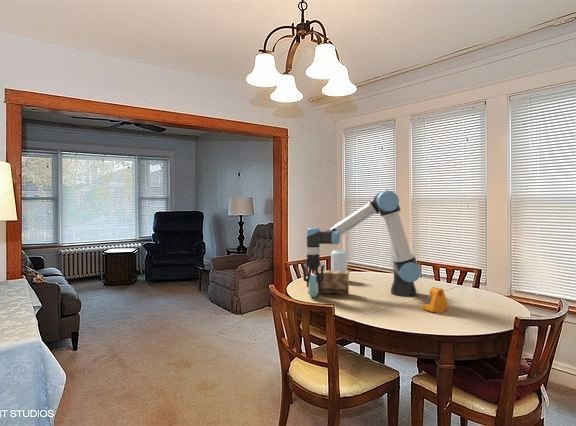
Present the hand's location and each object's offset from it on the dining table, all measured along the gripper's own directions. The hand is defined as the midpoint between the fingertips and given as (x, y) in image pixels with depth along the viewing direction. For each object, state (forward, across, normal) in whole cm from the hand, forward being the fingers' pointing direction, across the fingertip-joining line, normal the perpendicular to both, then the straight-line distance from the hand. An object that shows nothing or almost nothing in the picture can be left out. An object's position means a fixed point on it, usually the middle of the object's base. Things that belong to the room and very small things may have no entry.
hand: (313, 292), depth 221 cm
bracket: (+3, -66, +14) cm, 67 cm away
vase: (+3, -11, -48) cm, 49 cm away
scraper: (+2, 0, -4) cm, 4 cm away
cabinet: (+3, -10, -9) cm, 14 cm away
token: (+3, +3, -7) cm, 8 cm away
